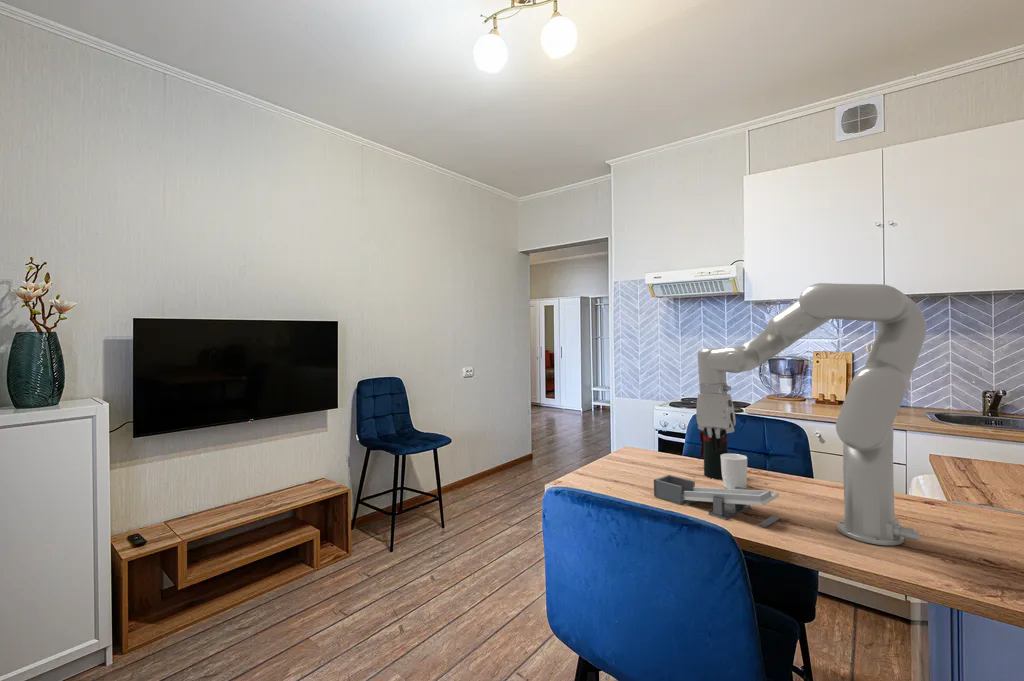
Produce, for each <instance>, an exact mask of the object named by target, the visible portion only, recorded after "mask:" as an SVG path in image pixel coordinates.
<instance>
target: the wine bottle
mask: <svg viewBox="0 0 1024 681" xmlns="http://www.w3.org/2000/svg"><path fill="white" fill-rule="evenodd" d="M726 429H727V428H726ZM715 430H716V428H715ZM699 431H700V432H699V440H700V441H699V442H701V446H700V456H699V458H698V460H700V461H702V457H703V475H704V477H706V476H707V477H706V478H708V477H710V478H709V479H712V478H714V479H713V480H723V478H722V471H721V457H720V455H722V454H729V452H728V449H729V448H728V433H727V434H725V435H724V437H722V439H723V448H722V451H719V452H715V451H712V448H711V444H710V437H708V434H707V433H706V432H705V431H703V430H699Z"/></svg>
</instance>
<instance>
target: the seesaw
mask: <svg viewBox="0 0 1024 681" xmlns="http://www.w3.org/2000/svg"><path fill="white" fill-rule="evenodd" d="M693 489H694V491H683V492H684V497H685V500H693V501H699V502H707V503H713V496H718V497H722V498H724V504H727V503H732V504H745V505H751V506H760V507H761V506H764V505H766V504H769V503H771V502H772V501H774V500H776V499H777V498H779V497H780V495H779V492H771V490H761V489H760V490H759V489H758V490H757V489H745V490H742V489H727V488H724V487H723V488H719V487H701V486H700V487H699V486H698V487H697V486H695V487H694V488H693Z"/></svg>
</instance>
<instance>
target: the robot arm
mask: <svg viewBox="0 0 1024 681" xmlns="http://www.w3.org/2000/svg"><path fill="white" fill-rule="evenodd" d="M830 320H839V321H840V320H843V321H844V320H845V321H858V322H871V323H872V322H873V323H876V324H877V326H878V331H877V334H876V337H875V338H874V342H873V344H872V347H871V351H870V353H869V356H868V358H867V361H866V363H865V364H864V366H863V367H862V368H860V369H859V370H858V371H857V372H856V373H855V374H854V376H853V378H852V380H851V382H850V385H849V387H848V390H847V393H846V395H845V398H844V401H843V403H842V406H841V408H840V411H839V414H838V416H837V419H836V423H835V431H836V434H837V435H838V438H839V439H840V440H841V442H842V444H843V446H842V448H843V450H842V451H843V452H842V463H843V464H842V465H843V466H842V468H843V469H842V472H843V474H842V475H843V502H844V504H843V506H844V507H843V508H844V520H843V519H842V520H840V521H838V522H837V524H836V527H837V530H838V532H840V533H841V534H842V535H844V536H846V537H848V538H851V539H853V540H855V541H858V542H862V543H868V544H873V545H877V546H878V545H879V546H899V545H901V544H903V543H904V542H905V539H909V540H911V541H916V542H919V541H920V538H921V537H920V532H919V531H916V529H915V528H911V527H906V526H903V525H902V524H900V519H899V518H895V517H896V516H895V515H896V514H895V491H894V489H895V488H894V486H895V484H894V422H895V420H896V418H897V416H898V412H899V410H900V409H901V406H902V404H903V401H904V398H905V396H906V394H907V393H908V390H909V388H910V387H909V386H910V382H911V381H910V380H911V377H912V375H913V372H914V369H915V367H916V365H917V362H918V360H919V357H920V354H921V350H922V348H923V345H924V343H925V339H926V336H927V322H926V318H925V315H924V313H923V310H922V309H921V308H920V306H919V305H918V304H917V303H916V302H915V301H914V300H912V299H911V298H910V297H909V296H907V295H906V294H905V293H903V292H902V291H901V290H899V289H897V288H896V287H894V286H892V285H889V284H878V283H877V284H876V283H831V282H830V283H828V282H820V283H818V282H817V283H814V284H811V285H809V286H808V287H806V288H804V290H803V291H802V292H801V293H800V295H799V297H798V299H797V300H796V301H795V302H793V303H792V304H790V305H789V306H787V307H785V308H784V309H783V310H781V311H780V312H779V313H777V314H775V315H774V316H773V317H771V318H770V320H769V321H768V323H767V325H766V327H765V329H764V328H763V331H761V332H760V333H759V334H757V335H756V336H755V337H753V338H752V339H750V340H749V341H748V342H746V343H744V344H743V345H737V346H730V347H726V348H725V347H724V348H721V347H720V348H719V347H714V348H713V347H712V348H709V347H708V348H701V349H699V350H698V352H697V369H698V371H697V372H698V382H699V383H698V384H699V393H698V394H697V400H696V408H695V409H696V411H695V412H696V416H695V418H696V423H697V429H698V430H699V431H705V432H706V433H707V434H708V437H710V444H711V448H712V451H715V452H719V451H722V448H723V439H722V437H724V435H725V434H727V435H728V434H730V433H731V434H732V433H735V431H736V430H735V428H734V427H735V426H736V414H735V407H734V403H733V398H732V394H731V393H728V392H729V391H731V390H732V386H731V385H728V382H727V373H732V374H739V373H740V374H741V373H744V372H748V371H752V370H755V369H757V368H758V367H760V366H761V365H763V364H764V363H767V362H768V361H769V360H770V359H773V357H775V356H777V355H778V354H780V353H781V352H783V351H784V350H786V349H787V348H789V347H790V346H791V345H793V344H794V343H795V342H796V343H797V341H798V340H800V339H802V338H804V337H805V336H806V335H808V334H810V333H811V332H813V331H815V330H816V329H818V328H819V327H821V326H822V325H825V324H826V323H827V322H829V321H830ZM715 428H716V430H715ZM726 428H727V429H726Z"/></svg>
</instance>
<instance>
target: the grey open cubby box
mask: <svg viewBox="0 0 1024 681" xmlns="http://www.w3.org/2000/svg"><path fill="white" fill-rule="evenodd" d="M694 487H696V481H695V480H691V479H688V478H684V477H683V478H682V477H679V476H676V475H671V474H667V475H664V476H661V477H657V478H656V479H653V497H654V496H656V497H655V498H657V497H658V498H657V499H660V498H662V499H661V500H664V501H667V500H668V502H670V501H671V502H670V503H673V502H674V503H673V504H678V505H681V506H682V505H684V502H687V501H689V500H685V497H684V492H683V491H694V489H693V488H694Z"/></svg>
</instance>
